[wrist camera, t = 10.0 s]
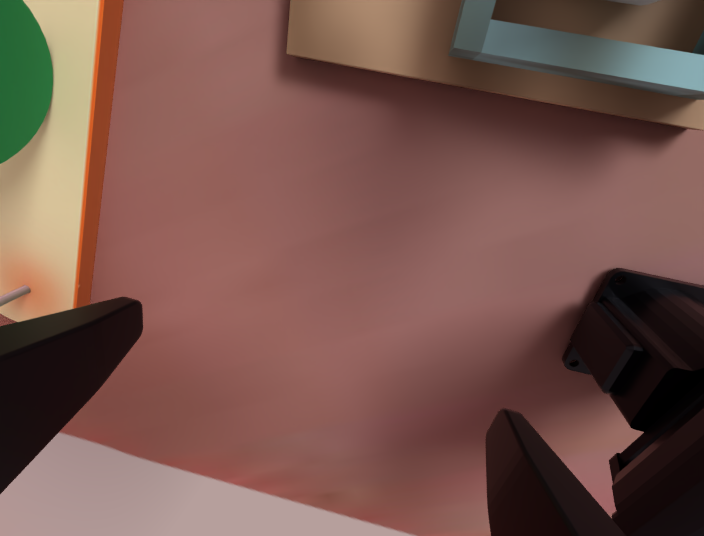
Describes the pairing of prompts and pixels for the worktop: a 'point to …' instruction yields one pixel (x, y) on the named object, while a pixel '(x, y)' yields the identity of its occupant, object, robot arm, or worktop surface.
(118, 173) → the worktop surface
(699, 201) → the worktop surface
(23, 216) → the crank mechanism
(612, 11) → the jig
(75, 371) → the robot arm
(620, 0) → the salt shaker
